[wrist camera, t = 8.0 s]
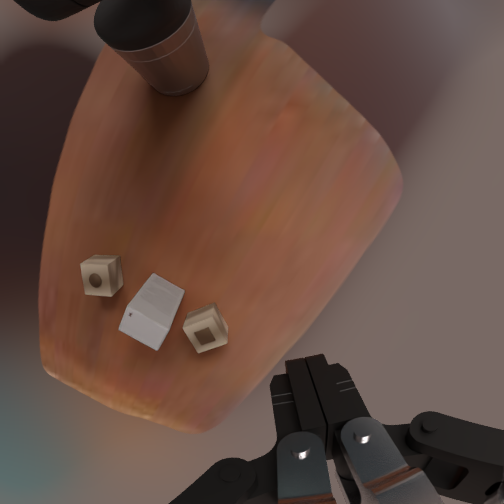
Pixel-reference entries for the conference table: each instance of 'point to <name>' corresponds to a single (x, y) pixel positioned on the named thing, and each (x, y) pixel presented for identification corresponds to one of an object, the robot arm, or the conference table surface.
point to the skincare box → (152, 311)
